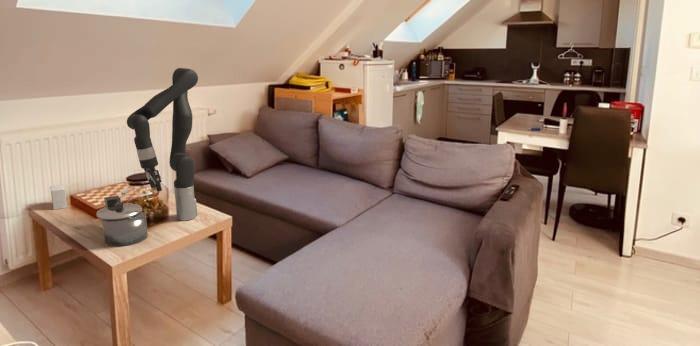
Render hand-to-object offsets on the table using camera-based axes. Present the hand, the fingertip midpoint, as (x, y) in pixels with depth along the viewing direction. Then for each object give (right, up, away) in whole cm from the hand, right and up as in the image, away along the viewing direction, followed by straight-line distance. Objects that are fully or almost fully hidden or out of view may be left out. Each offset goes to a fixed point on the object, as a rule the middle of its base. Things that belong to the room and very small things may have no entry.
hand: (156, 189), depth 220 cm
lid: (-17, -10, -2) cm, 20 cm away
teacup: (-27, -9, +38) cm, 48 cm away
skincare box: (-66, -10, +32) cm, 74 cm away
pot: (-11, -22, -6) cm, 26 cm away
